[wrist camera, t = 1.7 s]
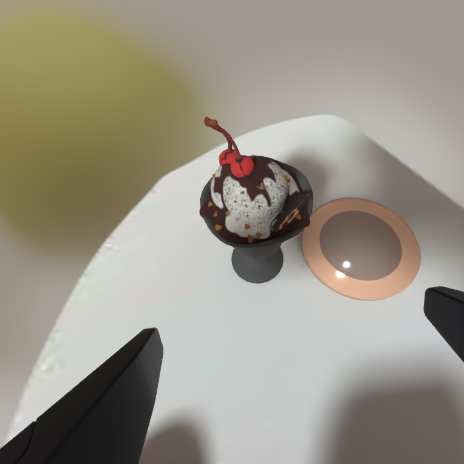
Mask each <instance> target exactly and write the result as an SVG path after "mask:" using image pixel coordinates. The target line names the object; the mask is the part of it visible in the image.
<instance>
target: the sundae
mask: <svg viewBox="0 0 464 464" xmlns="http://www.w3.org/2000/svg"><path fill="white" fill-rule="evenodd" d="M204 122H205V125H206V126H209V127H211V128H213V129H215V130H217V131H219V132H221V133H223V135H224V136H225V137H226V139H227V141H228V149H226V150H224V151H223V152H222V153H221V154H220V156H219V163H220V166H219V168H218V169H217V170H216V172H215V174H213V176H212V178H211V179H210V180H209V181H208V183H207V184H206V185H205V187H204V189H203V191H202V194H201V198H200V207H201V208H200V215H201V217H202V218H203V219H204V220H205V222H206V224H207V226H208V228H209V229H210V230H211V232H212V233H213V234H214V235H215V236H216V237H217V238H218V239H219V240H220V241H222V242H223V243H225V244H227V245H230V246H233V247H234V250H233V253H232V265H233V268H234V270H235V272H236V273H237V274H238V276H239V277H241V278H242V279H244V280H246V281H247V282H251V283H264V282H267V281H270V280H271V279H273V278H274V277H275V276H277V274H278V273H279V272H280V270H281V268H282V264H283V255H282V252H281V249H280V245H281V244H282V242H284V241H286V240H288V239H290V238H292V237H294V236H295V235H297V234H299V233H300V232H301V231H302V230H303V229H304V228H305V227H308V226H309V225H310V216H311V213H312V207H313V193H312V190H311V187H310V184H309V182H308V180H307V179H306V177H305V176H304V175H303V174H302V173H301V172H300V171H298V170H297V169H295V168H294V167H292V166H289V165H287V164H284V163H282V162H279V161H277V160H274V159H272V158H268V157H263V156H255V155H252V156H245V155H242V156H241V155H240V152H239V150H238V148H237V146H236V144H235V142H234V141H233V139H232V137H231V136H230V135H229V134H228V133H227V132H226V131H225V130H224V129H222V128H221V127H220V126H219V125H218V124H217V120H211V119H210V118H208V117H206V118H205V120H204ZM232 145H233V147H234V149H235V150H234V149H232Z"/></svg>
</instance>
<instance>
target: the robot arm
mask: <svg viewBox="0 0 464 464" xmlns="http://www.w3.org/2000/svg"><path fill="white" fill-rule="evenodd" d="M424 313H425V316H426V317H427V319H428V320H429V321H430V322H431V323H432V325H433V326H434V327H435V328H436V330H437V331H438V332H439V333H440V334H441V336H442V337H443V338H444V339H445V341H446V342H447V343H448V344H449V345H450V347H451V348H452V349H453V350H454V351H455V353H456V354H457V355H458V356H459V357H460V359H461V360H462V361H463V362H464V292H462V291H458V290H454V289H450V288H446V287H442V286H438V287H431V288H428V289H427V290H426V291H425V299H424ZM162 359H163V345H162V342H161V338H160V335H159V332H158V330H157V328H147V329H144V330H142V331H141V332H140V333H139V334H137V335H136V336H135V337H134V338H133V339H132V340H130V341H129V342H128V343H127V344H126V345H124V346H123V347H122V348H121V349H120V350H118V351H117V352H116V353H115V354H114V355H112V356H111V357H110V358H109V359H108V360H106V361H105V362H104V363H103V364H102V365H100V366H99V367H98V368H97V369H96V370H94V371H93V372H92V373H91V374H90V375H88V376H87V377H86V378H85V379H84V380H82V381H81V382H80V383H79V384H78V385H76V386H75V387H74V388H73V389H72V390H70V391H69V392H68V393H67V394H66V395H65V396H63V397H62V398H61V399H60V400H59V401H57V402H56V403H55V404H54V405H53V406H51V407H50V408H49V409H48V410H47V411H45V412H44V413H43V414H42V415H41V416H39V417H38V418H37V420H36V421H34V422H32V423H31V424H30V425H29V426H27V427H26V428H25V429H24V430H23V431H21V432H20V433H19V434H18V435H17V436H15V437H14V438H13V439H12V440H11V441H9V442H8V443H7V444H6V445H4V446H3V447H2V448H1V449H0V464H138V463H139V460H140V456H141V452H142V449H143V445H144V441H145V438H146V434H147V430H148V427H149V423H150V419H151V416H152V412H153V408H154V404H155V399H156V394H157V388H158V382H159V376H160V370H161V365H162Z"/></svg>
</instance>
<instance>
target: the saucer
mask: <svg viewBox="0 0 464 464" xmlns="http://www.w3.org/2000/svg"><path fill="white" fill-rule="evenodd" d="M302 250H303V254H304V258H305V260H306V262H307V264H308V266H309V268H310V269H311V271H312V272H313V274H314V275H315V276H316V277H317V278H318V279H319V280H320V281H321V282H322V283H323V284H324V285H326V286H327V287H328V288H330V289H332V290H333V291H335V292H337V293H339V294H341V295H343V296H346V297H349V298H353V299H358V300H379V299H384V298H387V297H390V296H393V295H395V294H397V293H399V292H401V291H403V290H404V289H405V288H407V287H408V286H409V285H410V284H411V283H412V282H413V280H414V279H415V277H416V275H417V273H418V271H419V267H420V260H421V255H420V249H419V245H418V242H417V240H416V237H415V235H414V234H413V232H412V230H411V229H410V228H409V226H408V225H407V224H406V223H405V222H404V221H403V220H402V219H401V218H400V217H399V216H398V215H396V214H395V213H393V212H392V211H391V210H389V209H387V208H385V207H383V206H381V205H379V204H376V203H373V202H370V201H366V200H361V199H341V200H336V201H332V202H329V203H327V204H325V205H323V206H322V207H320V208H319V209H317V210H316V211H315V212H314V213H313V214H312V215H311V217H310V225H309V226H308V227H305V228H304V232H303V235H302Z"/></svg>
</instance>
